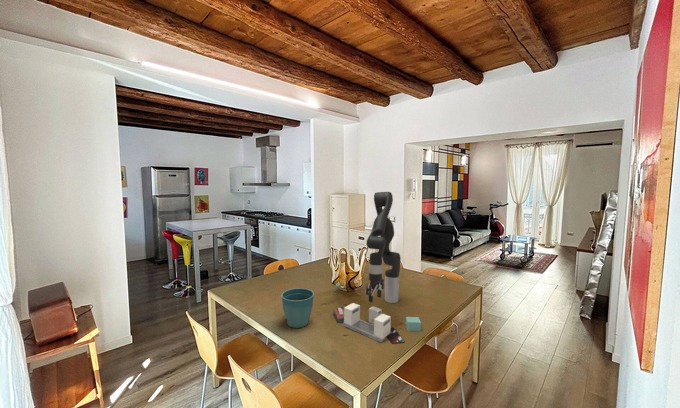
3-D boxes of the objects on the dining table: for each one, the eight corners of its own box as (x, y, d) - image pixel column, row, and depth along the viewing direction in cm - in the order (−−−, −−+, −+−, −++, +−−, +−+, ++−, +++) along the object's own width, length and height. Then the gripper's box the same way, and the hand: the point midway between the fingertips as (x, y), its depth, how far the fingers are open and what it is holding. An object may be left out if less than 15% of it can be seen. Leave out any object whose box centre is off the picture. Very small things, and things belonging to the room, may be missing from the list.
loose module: (372, 319, 167) (372, 306, 166) (381, 322, 163) (381, 309, 162) (368, 322, 164) (368, 308, 163) (377, 325, 160) (377, 311, 159)
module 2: (382, 329, 153) (382, 313, 153) (390, 333, 150) (390, 316, 149) (373, 335, 147) (374, 319, 147) (382, 339, 144) (382, 322, 143)
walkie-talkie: (352, 322, 164) (343, 305, 183) (353, 315, 163) (343, 299, 182) (338, 325, 161) (330, 307, 181) (338, 317, 161) (330, 301, 180)
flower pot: (299, 312, 176) (298, 285, 174) (320, 321, 164) (320, 293, 163) (275, 323, 162) (274, 294, 160) (297, 335, 150) (296, 303, 149)
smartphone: (393, 327, 158) (405, 341, 143) (393, 328, 158) (405, 343, 144) (381, 328, 156) (391, 343, 142) (381, 329, 157) (391, 345, 142)
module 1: (352, 317, 166) (352, 302, 165) (359, 320, 163) (359, 305, 162) (343, 323, 160) (344, 307, 159) (351, 326, 157) (351, 310, 156)
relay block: (405, 325, 161) (418, 325, 160) (407, 331, 155) (420, 331, 154) (405, 316, 160) (418, 317, 160) (407, 322, 154) (421, 322, 154)
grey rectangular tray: (353, 319, 167) (353, 316, 167) (391, 334, 151) (391, 331, 151) (342, 325, 160) (342, 323, 159) (381, 342, 143) (381, 339, 143)
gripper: (377, 267, 169) (376, 294, 170) (362, 273, 158) (362, 301, 159) (388, 270, 164) (387, 297, 165) (374, 276, 153) (373, 305, 154)
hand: (375, 299), depth 162 cm, fingers open, 8 cm apart
